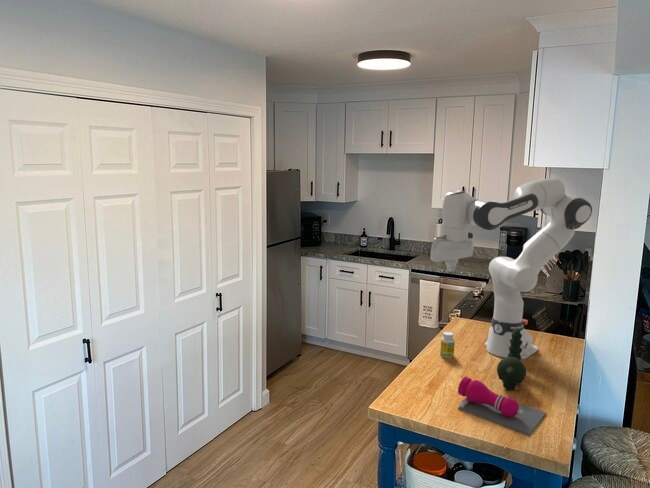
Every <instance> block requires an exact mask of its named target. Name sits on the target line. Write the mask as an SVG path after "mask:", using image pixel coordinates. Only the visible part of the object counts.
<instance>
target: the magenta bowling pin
mask: <svg viewBox="0 0 650 488" xmlns="http://www.w3.org/2000/svg"><path fill="white" fill-rule="evenodd" d="M457 393H458V395H460V396H462V397H465V398H466V397H467V399H468V400H469V401H470V402H473V403H479V404H487V405H490V406H492V407H494V408H495V410H498V411H501V412H502V414H503V415H504V416H506V417H509V418H512V417H514V416H516V415H517V414H518V415H522V414H523V411H522V410H521V409H519V404H518V403H519V402H518V400H516V399H515V398H513V397H511V396H508V397H506V395H502V394H497V393H495V392H493V391H492V390H490V388H489V387H487V385H486V384H484V383H483V382H482V381H480V380H478V379H473V380H472V378H471V377H468V376H464V377H463V378H462V379H461V380H460V382H459V384H458V387H457Z"/></svg>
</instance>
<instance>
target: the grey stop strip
mask: <svg viewBox="0 0 650 488" xmlns="http://www.w3.org/2000/svg"><path fill="white" fill-rule="evenodd" d="M469 402H470V401H469V400H468V399H467V397H466V396H465V398H464V399H462V401H460V402H459V406H460V407H464V406H465V405H467V404H468V403H469Z"/></svg>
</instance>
